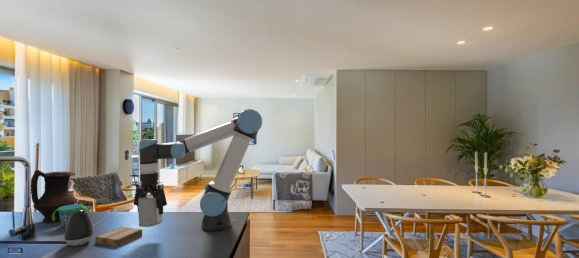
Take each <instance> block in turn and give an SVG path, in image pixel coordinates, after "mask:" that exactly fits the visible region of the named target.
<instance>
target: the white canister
mask: <svg viewBox="0 0 579 258" xmlns="http://www.w3.org/2000/svg"><path fill="white" fill-rule="evenodd" d="M157 198H159V197H157ZM138 204H139V213H138V226H139V227H141V228H149V227H154V226H158V225H160V224H162V222H163V221H160V222H157V215H156V208H157V207H158V206H157V204H156V198H153V195H151V194H147V196H145V197H141V198H140V197H139V198H138Z"/></svg>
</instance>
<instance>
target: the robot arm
mask: <svg viewBox="0 0 579 258" xmlns="http://www.w3.org/2000/svg"><path fill="white" fill-rule="evenodd" d="M262 125H263V118H262V116H261V114H260V113H259V111H256V110H255V109H252V108H247V109H244V110H242V111H241V112H240V113H239V114H238V115H237V116H236V117H234V118H232V119H231V120H230V121H229V122H227V123H224V124H220V125H218V126H215V127H213V128H210V129H207V130H205V131H202V132H200V133H197V134H193V135H191V136H189V137H185V138H183V139H180V140H178V141H175V142H164V143H161V142H160V143H159V142H158V139H157V138H155V139H153V138H151V139H149V138H148V139H140V140H139V143H138V144H139V146H138V148H139V149H138V151H139V153H138V154H139V173H140V174H139V181H140V182H141V183H137V184H135V193H134V199H133V205H134V206H136V207H137V213H138V214H139V204H138V198H139V197H140V198H141V197H145V196H147V195H148V194H150V195H153V198H156V204H157V206H158V207H157V208H156V215H157V222H160V221H162V222H163V214H164V207H165V206H167V205H168V202H167V198H166V194H165V190H164V183H161V184H159V183H158V180H159V163H158V162H159V160H168V159H169V160H170V159H173V160H175V159H176V160H177V159H183V158H184V157H185V155H186V154H188V153H191V152H194V151H197V150H198V149H202V148H205V147H207V146H210V145H212V144H215V143H218V142H221V141H223V140H226V139H228V138H232V139H231V141H230V143H229V145H228V147H227V149H226V152H225V153H224V156H223V158H222V161H221V162H220V165H219V168H218V170H217V172H216V175H215V177H214V178H213V180H212V181H209V182H208V183H206V184H205V185H204V193H203V194H202V196H201V198H200V200H199V207H200V208H199V209H200V211H201V212H202V213H203V214H204V215H203V218H202V221H201V229H202V230H205V231H209V232H217V231H222V230H226V229H228V228H230V227H231V226H232V220H231V216H230V213H229V211H228V210H229V209H228V205H229V203H228V202H229V198H230V196H231V193H232V188H231V186H232V184H233V182H234V179H235V176H236V175H237V172H238V170H239V168H240V165H241V163H242V161H243V158H244V156H245V155H246V152H247V150H248V148H249V145H250V143H251V142H254V141H255V139H256V137H257V136H258V132H259V130H260V129H261V128H262ZM157 197H159V198H157Z"/></svg>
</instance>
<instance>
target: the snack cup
mask: <svg viewBox="0 0 579 258" xmlns="http://www.w3.org/2000/svg"><path fill="white" fill-rule="evenodd" d="M57 210H58V212H59V215H60V226H61V227H62V228H66V226H67V223H68V220H69V218H70V216H71V215H72V213H73V212H75V211H77V210H85V211H86V212H87V213H88V215H90V214H89V213H90V211H89V208H88V207H87V206H84V204H78V203H75V204H73V205H66V206H62V207H59V208H58V209H57ZM57 210H55V211H54V212H53V214H52V221H55V215H54V214H55V212H56V211H57Z"/></svg>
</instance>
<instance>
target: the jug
mask: <svg viewBox="0 0 579 258" xmlns="http://www.w3.org/2000/svg"><path fill="white" fill-rule="evenodd" d="M75 175H76V173H75V172H74V171H50V172H46V173H45V172H43V171H41V170H40V169H35V170H34V172H33V174H32V177H31V179H30V194H31V196H30V197H31V201H32V203H33V205H32V207H33V209H35V210H36V211H38V213H40V214H41V215H42V216H43V218H42V223H45V224H52V223H59V222H60V223H61V221H60V215H59V212H58V210H57V209H58V208H59V207H62V206H66V205H73V204H77V202H78V200H77V199H76V197H75V196H74V195H73V194H72V193H70V191H69V184H70V178H71V176H75ZM39 177H42V178H43V180H44V191H43V194H42V195H41V196H40V197H39V195H38V181H39V180H38V179H39ZM55 210H57V211H56V212H55V214H54V215H55V221H52V214H53V212H54V211H55Z"/></svg>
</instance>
